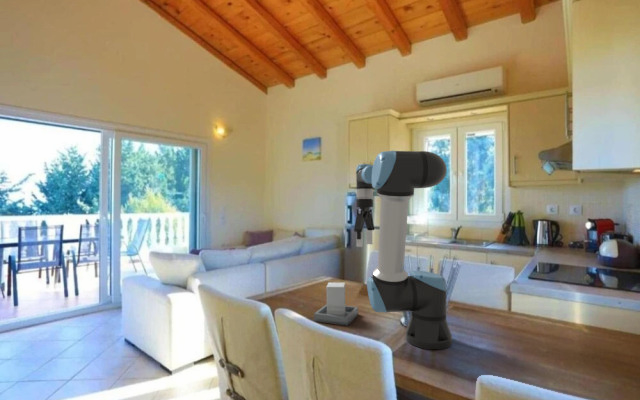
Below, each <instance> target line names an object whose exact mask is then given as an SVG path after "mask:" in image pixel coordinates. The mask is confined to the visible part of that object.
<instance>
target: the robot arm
mask: <svg viewBox="0 0 640 400" xmlns="http://www.w3.org/2000/svg"><path fill="white" fill-rule="evenodd" d="M355 169H356V171H355V175H356V176H355V178H356V180H355V181H356V184H355V185H356V191H355V194H356V195H355V196H356V198H357V199H356V203H355V204H356V208H358V209H356V217H355V223H354V228H353V229H354V230H353V231H354V232H355V233H356V239H355V241H356V242H355V243H356V247H357V248H363V247H364V232H363V229H364V224H365V226H366V231H365V232H366V236H365V237H366V245H373V231H375V225H374V219H373V218H374V217H373V210H372V209H370V208H373V207H374V200H373V198H374V189H375V190H376V195H377V196H378V197H380V212H379V213H380V214H379V233H378V236H379V237H378V249H377V250H378V253H377V255H378V256H377V266H376V267H375V268H374V269H373V271H372V276H368V277H367V279H366V288H367V294H368V300H369V303H370V306H371V308H372V309H373V311H374V312H376V313H385V314H386V313H387V314H388V313H398V312H399V313H400V312H401V313H402V312H410V318H409V321H408V324H407V327H406V331H405V340H406V341H407V342H408V343H409V344H410V345H412V346H414V347H417V348H419V349H420V348H421V349H426V350H432V349H439V350H444V349H448V348H450V347H451V346H452V345H453V335H452V332H451V329H450V327H449V323H448V321H447V291H448V288H447V282H446V280H447V279H446V278H445V277H444V276H442V275H440V274H438V273H434V272H429V271H425V270H411V272H410V274H408V273H407V270H405V257H406V256H405V255H406V241H407V225H408V213H409V200H410V199H411V198H412V197H414V195H415V189H427V188H432V187H435V186H437V185H439V184H441V182H443V180H444V179H445V178H446V176H447V165H446V161H444V159H443V158H442V157H441V156H440V155H439V154H436V153H434V152H432V151H426V150H425V151H424V150H422V151H421V150H420V151H419V150H417V151H415V150H413V151H412V150H387V151H386V150H385V151H381V152H380V153H377V155H376V157H375V159H374V162H373V164H367V163H361V164H358V165H357V166H356V168H355Z"/></svg>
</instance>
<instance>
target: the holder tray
mask: <svg viewBox="0 0 640 400" xmlns="http://www.w3.org/2000/svg"><path fill="white" fill-rule="evenodd" d="M313 314H314V315H313V316H314V318H313V319H314V321H313V322H320V323H326V324H333V325H339V326H344V325H345V326H346V327H348V326H349V325H350V324H351V323H352V322H353V321H354V320H355V319H356V318H357V316H358V315H359V306H351V305H350V306H349V305H345V317H342V316H335V315H328V314H327V303H326V304H325V305H324V306H322V307H321V308H320V309H318V310H317V311H315V312H314V313H313Z"/></svg>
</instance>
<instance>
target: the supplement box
mask: <svg viewBox="0 0 640 400" xmlns="http://www.w3.org/2000/svg"><path fill="white" fill-rule="evenodd" d="M326 304H327V314H328V315H335V316H342V317H345V306H346V283H345V282H327V285H326Z"/></svg>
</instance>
